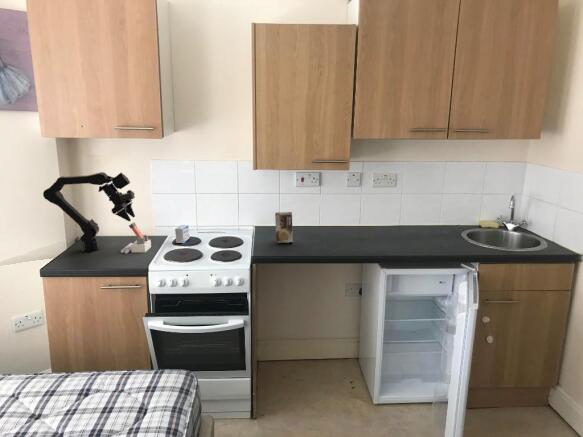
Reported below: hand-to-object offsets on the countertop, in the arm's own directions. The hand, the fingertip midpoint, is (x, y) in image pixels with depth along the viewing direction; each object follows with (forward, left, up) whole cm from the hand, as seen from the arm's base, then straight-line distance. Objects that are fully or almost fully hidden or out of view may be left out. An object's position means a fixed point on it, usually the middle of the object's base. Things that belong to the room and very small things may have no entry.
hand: (132, 218), depth 234 cm
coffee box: (+71, +34, -16) cm, 80 cm away
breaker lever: (+6, -1, -10) cm, 12 cm away
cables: (-1, -4, -16) cm, 16 cm away
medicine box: (+18, +17, -16) cm, 30 cm away
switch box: (+5, -1, -16) cm, 17 cm away
